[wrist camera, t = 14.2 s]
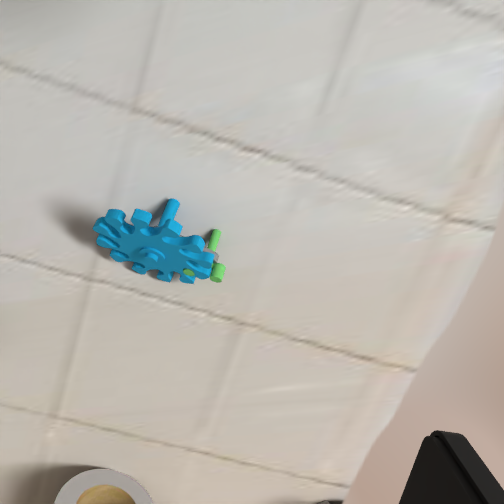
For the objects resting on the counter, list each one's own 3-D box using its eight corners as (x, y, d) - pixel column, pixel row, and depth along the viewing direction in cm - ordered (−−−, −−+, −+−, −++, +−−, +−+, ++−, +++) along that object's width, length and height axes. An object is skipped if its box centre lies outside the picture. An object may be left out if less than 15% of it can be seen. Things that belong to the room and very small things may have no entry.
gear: (80, 254, 38) (102, 205, 29) (107, 200, 40) (134, 142, 32) (195, 304, 41) (243, 272, 33) (212, 251, 44) (261, 209, 36)
